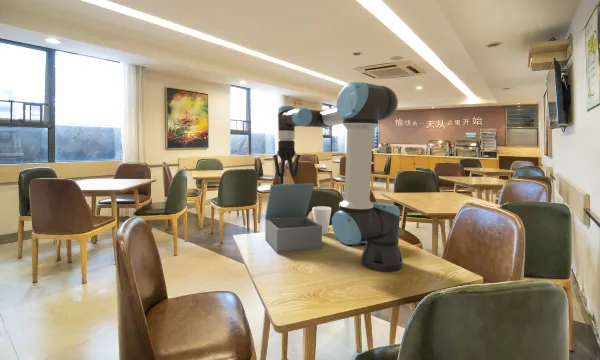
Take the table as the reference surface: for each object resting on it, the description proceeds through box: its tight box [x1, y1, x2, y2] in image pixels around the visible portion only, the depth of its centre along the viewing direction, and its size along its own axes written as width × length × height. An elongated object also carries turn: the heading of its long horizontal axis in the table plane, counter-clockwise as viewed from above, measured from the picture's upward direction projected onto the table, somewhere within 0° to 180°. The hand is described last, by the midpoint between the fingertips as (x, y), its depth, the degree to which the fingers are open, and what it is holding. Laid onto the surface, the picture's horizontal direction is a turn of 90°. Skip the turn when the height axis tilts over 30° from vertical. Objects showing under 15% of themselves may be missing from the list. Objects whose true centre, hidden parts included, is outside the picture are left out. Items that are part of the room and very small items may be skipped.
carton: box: [264, 216, 323, 254], centre depth 145 cm, size 20×20×10 cm
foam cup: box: [311, 205, 332, 236], centre depth 163 cm, size 10×9×13 cm
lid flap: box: [264, 168, 315, 219], centre depth 152 cm, size 20×20×12 cm
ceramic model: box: [306, 210, 314, 221], centre depth 178 cm, size 14×11×10 cm
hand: (286, 190), depth 151 cm, fingers open, 2 cm apart
